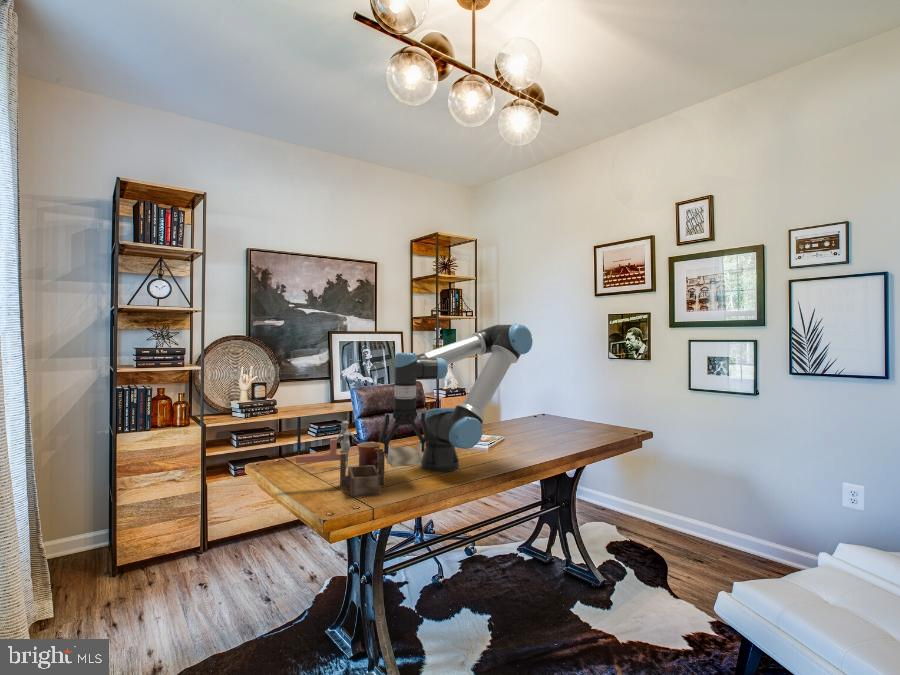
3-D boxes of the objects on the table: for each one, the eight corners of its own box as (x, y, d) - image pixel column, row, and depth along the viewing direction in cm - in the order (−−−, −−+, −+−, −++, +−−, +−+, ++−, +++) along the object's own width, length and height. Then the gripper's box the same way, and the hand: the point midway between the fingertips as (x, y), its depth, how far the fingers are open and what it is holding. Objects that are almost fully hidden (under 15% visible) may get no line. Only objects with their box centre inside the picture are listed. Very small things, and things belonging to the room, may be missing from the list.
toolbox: (382, 481, 164) (382, 448, 164) (388, 494, 151) (389, 458, 151) (339, 484, 160) (340, 451, 160) (342, 498, 147) (343, 461, 147)
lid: (411, 454, 172) (411, 446, 172) (421, 464, 158) (421, 456, 158) (384, 456, 170) (384, 447, 170) (391, 466, 155) (391, 457, 155)
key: (345, 458, 159) (345, 438, 159) (345, 460, 157) (345, 439, 157) (295, 461, 155) (296, 440, 155) (295, 463, 153) (295, 441, 153)
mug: (352, 471, 176) (352, 444, 176) (370, 467, 182) (370, 441, 182) (372, 478, 168) (372, 449, 168) (390, 473, 174) (391, 445, 174)
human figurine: (333, 471, 177) (333, 423, 177) (328, 469, 179) (329, 422, 179) (360, 465, 185) (361, 420, 185) (355, 463, 188) (356, 418, 188)
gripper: (373, 399, 154) (372, 467, 154) (439, 398, 160) (438, 463, 160) (370, 396, 161) (369, 461, 161) (434, 395, 167) (433, 457, 167)
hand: (404, 462), depth 160 cm, fingers closed on lid, 10 cm apart
